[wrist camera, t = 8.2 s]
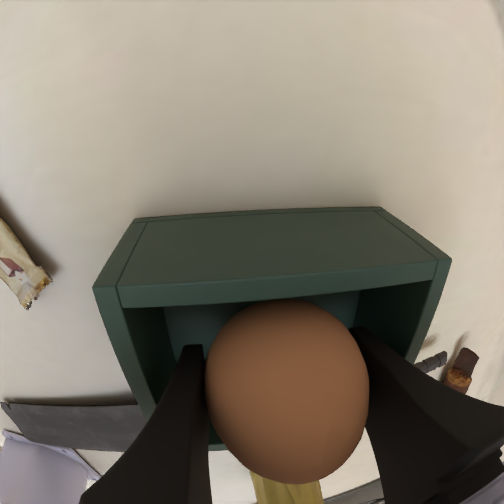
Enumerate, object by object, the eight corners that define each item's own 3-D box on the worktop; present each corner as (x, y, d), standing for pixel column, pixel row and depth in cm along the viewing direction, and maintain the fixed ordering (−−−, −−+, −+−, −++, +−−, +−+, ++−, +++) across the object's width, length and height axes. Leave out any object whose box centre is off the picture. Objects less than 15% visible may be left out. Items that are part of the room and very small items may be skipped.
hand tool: (410, 457, 30) (422, 473, 27) (392, 468, 30) (404, 486, 26) (469, 329, 18) (499, 354, 15) (444, 348, 18) (475, 376, 15)
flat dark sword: (-9, 388, 16) (-18, 404, 14) (447, 306, 15) (465, 326, 13) (38, 437, 19) (33, 452, 17) (429, 379, 18) (440, 397, 17)
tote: (168, 373, 15) (163, 451, 11) (133, 218, 11) (90, 287, 7) (350, 354, 16) (384, 421, 12) (381, 206, 12) (453, 258, 8)
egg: (183, 345, 12) (178, 500, 6) (243, 242, 11) (288, 420, 4) (286, 376, 14) (321, 503, 8) (354, 295, 12) (439, 427, 6)
